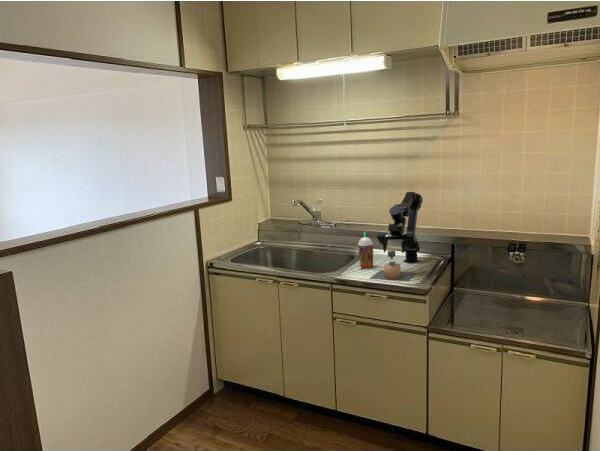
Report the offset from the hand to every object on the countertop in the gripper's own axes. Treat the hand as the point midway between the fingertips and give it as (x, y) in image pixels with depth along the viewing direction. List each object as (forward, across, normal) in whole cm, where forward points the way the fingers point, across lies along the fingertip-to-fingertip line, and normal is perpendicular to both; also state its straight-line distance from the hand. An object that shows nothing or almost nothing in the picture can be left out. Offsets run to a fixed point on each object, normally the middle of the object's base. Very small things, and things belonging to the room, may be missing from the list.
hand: (393, 252), depth 223 cm
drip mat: (+9, 0, +9) cm, 13 cm away
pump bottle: (+10, 0, +6) cm, 12 cm away
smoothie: (0, -20, +18) cm, 27 cm away
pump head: (+5, 0, -1) cm, 5 cm away
